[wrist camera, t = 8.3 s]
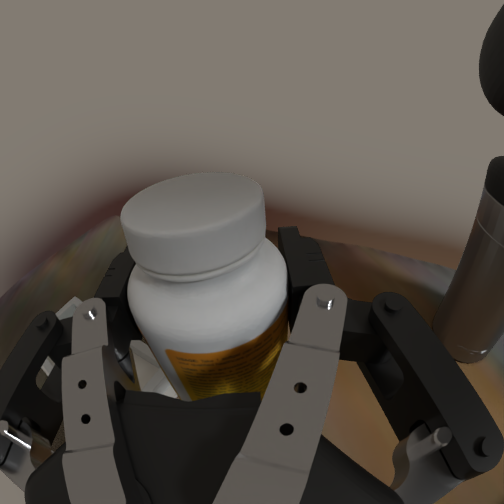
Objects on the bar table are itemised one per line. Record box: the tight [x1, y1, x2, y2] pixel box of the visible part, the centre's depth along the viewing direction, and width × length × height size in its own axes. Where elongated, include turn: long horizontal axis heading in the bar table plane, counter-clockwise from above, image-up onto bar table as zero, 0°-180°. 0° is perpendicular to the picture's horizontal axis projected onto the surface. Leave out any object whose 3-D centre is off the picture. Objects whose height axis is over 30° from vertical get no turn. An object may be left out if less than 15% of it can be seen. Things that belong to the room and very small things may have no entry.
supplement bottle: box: [120, 172, 289, 401], centre depth 10 cm, size 5×5×10 cm
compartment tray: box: [41, 297, 177, 398], centre depth 25 cm, size 11×21×2 cm, turn 63°
